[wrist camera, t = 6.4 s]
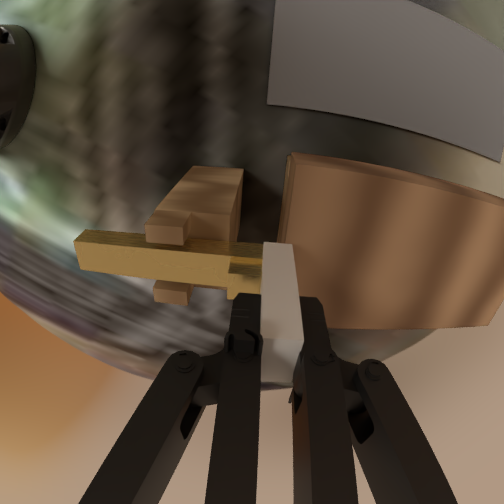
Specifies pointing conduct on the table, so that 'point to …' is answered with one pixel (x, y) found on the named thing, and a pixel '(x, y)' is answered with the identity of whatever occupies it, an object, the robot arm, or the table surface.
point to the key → (173, 260)
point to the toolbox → (200, 218)
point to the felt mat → (390, 69)
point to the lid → (393, 245)
